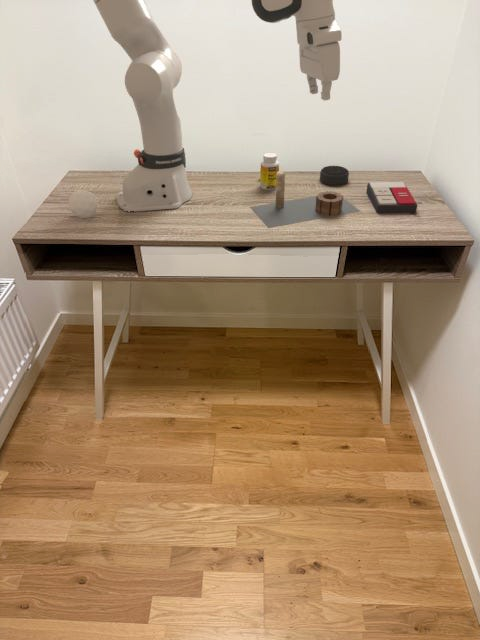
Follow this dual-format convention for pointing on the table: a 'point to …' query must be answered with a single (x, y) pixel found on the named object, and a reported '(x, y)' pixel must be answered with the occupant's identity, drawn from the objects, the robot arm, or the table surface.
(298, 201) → the felt mat
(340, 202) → the bead
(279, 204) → the dowel
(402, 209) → the calculator
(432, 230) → the table surface
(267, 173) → the supplement bottle
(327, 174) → the smart speaker
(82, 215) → the geometric ball
